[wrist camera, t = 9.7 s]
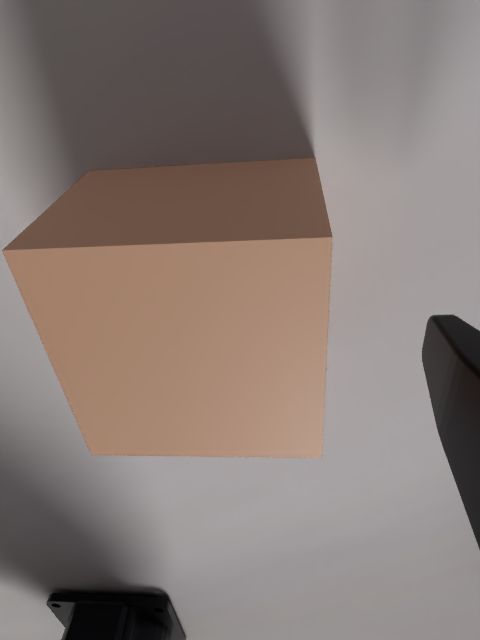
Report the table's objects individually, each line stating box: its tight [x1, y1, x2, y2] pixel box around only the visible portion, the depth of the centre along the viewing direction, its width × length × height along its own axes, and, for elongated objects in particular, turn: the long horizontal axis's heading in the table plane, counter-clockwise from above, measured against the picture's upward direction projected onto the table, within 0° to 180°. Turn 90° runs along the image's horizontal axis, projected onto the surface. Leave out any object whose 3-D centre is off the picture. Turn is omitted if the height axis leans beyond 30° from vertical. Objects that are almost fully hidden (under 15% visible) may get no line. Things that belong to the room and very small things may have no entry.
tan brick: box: [2, 158, 332, 458], centre depth 10 cm, size 5×5×4 cm
